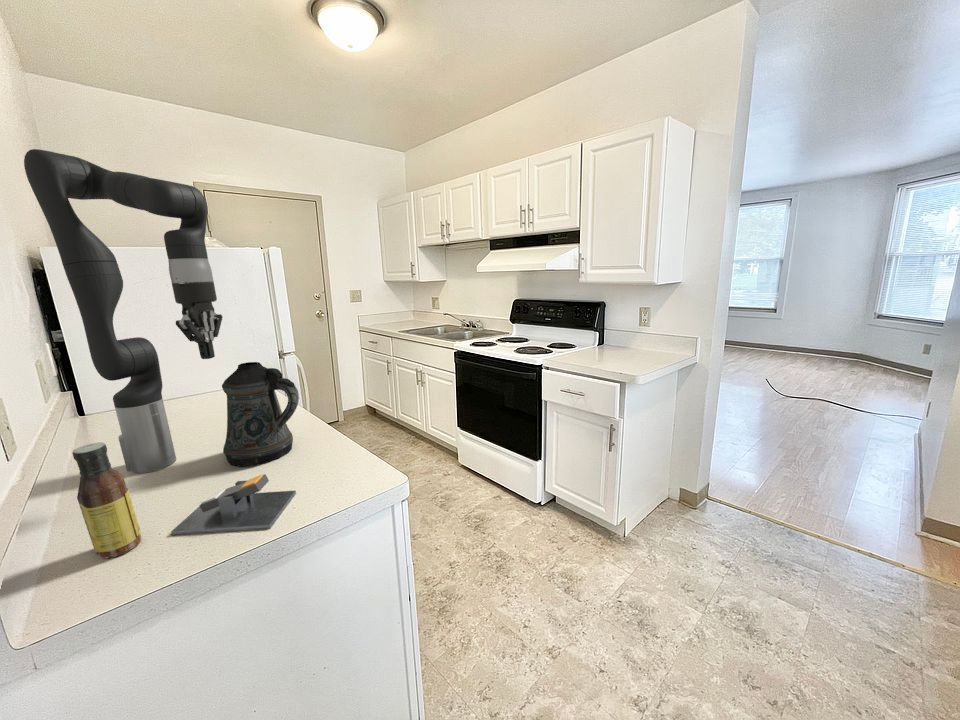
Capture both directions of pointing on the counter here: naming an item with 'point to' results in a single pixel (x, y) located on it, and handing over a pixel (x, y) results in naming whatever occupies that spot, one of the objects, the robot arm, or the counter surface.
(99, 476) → the sauce bottle
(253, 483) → the lever
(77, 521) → the counter surface
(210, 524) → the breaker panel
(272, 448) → the beer stein
